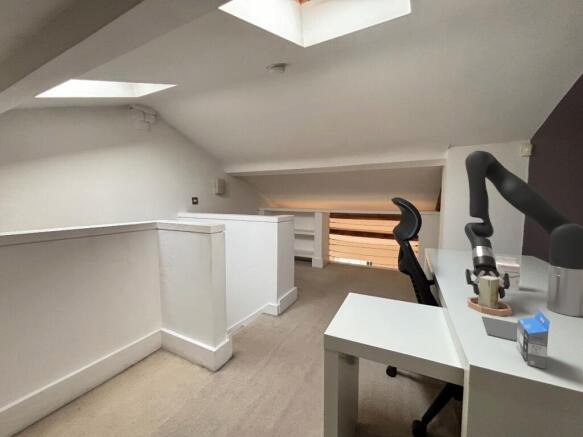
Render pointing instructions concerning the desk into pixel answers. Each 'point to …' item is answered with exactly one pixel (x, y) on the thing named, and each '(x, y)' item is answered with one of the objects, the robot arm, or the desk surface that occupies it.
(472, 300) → the ring
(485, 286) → the skincare box
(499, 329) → the mat
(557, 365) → the desk surface
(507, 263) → the ink cartridge box
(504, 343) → the desk surface
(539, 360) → the label tape cartridge
